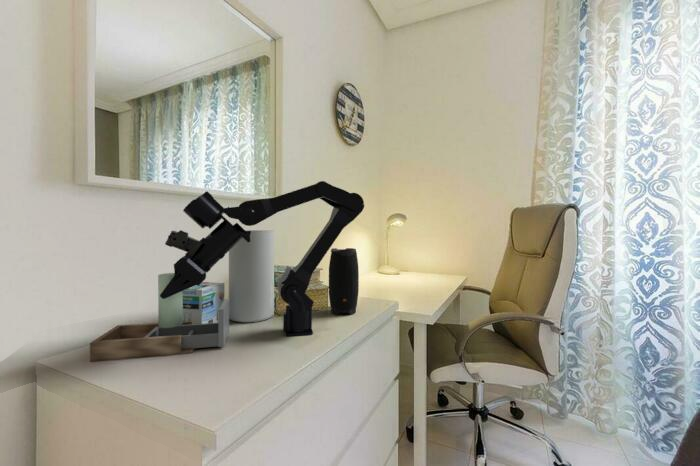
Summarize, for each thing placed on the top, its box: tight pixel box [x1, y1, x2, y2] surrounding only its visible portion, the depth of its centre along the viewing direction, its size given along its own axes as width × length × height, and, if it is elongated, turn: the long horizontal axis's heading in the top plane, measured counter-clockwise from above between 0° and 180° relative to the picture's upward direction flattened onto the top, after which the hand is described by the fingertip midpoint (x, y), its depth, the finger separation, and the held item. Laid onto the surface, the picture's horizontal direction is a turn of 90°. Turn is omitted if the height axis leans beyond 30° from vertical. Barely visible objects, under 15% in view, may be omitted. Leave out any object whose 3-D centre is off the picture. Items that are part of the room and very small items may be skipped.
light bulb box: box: [183, 281, 225, 324], centre depth 82 cm, size 11×7×11 cm, turn 172°
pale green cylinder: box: [157, 272, 183, 328], centre depth 68 cm, size 5×5×11 cm
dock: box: [89, 321, 196, 363], centre depth 68 cm, size 18×11×4 cm, turn 104°
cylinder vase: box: [228, 229, 275, 323], centre depth 91 cm, size 12×12×25 cm
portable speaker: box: [328, 247, 360, 316], centre depth 97 cm, size 9×9×20 cm
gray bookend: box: [145, 298, 230, 349], centre depth 69 cm, size 16×10×8 cm, turn 104°
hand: (163, 295), depth 68 cm, fingers closed on pale green cylinder, 5 cm apart
